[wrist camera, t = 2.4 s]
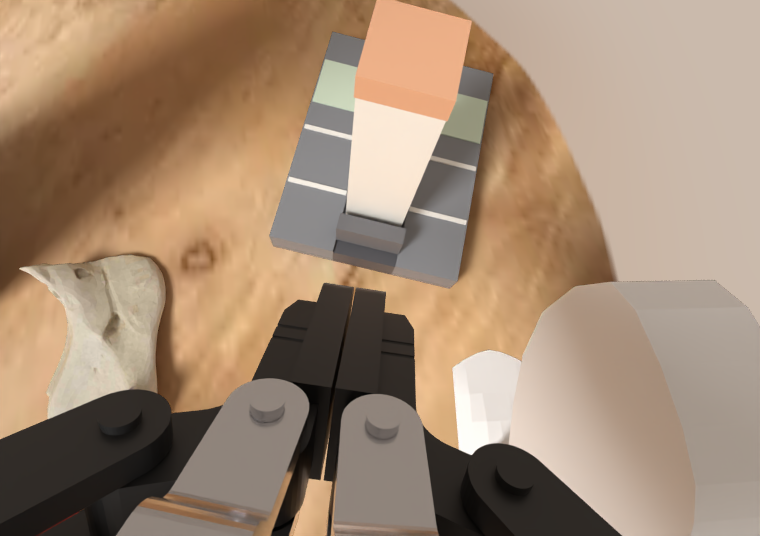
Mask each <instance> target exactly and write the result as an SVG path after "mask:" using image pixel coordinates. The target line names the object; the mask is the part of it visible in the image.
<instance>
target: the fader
mask: <svg viewBox="0 0 760 536" xmlns="http://www.w3.org/2000/svg"><path fill="white" fill-rule="evenodd" d="M471 23H472V21H470V20H466V19H462V18H459V17H455V16H451V15H447V14H444V13H440V12H436V11H432V10H429V9H425V8H421V7H417V6H414V5H410V4H406V3H402V2H399V1H395V0H376V4H375V8H374V11H373V15H372V18H371V22H370V25H369V29H368V32H367V36H366V40H365V43H364V47H363V50H362V54H361V57H360V61H359V65H358V68H357V72H356V75H355V87H354V98H355V107H354V119H353V131H352V143H351V155H350V168H349V180H348V192H347V204H346V214H348V215H352V216H356V217H360V218H364V219H368V220H372V221H376V222H380V223H384V224H389V225H393V226H397V227H401V226H402V224H403V221H404V219H405V217H406V214H407V212H408V210H409V207H410V205H411V202H412V200H413V198H414V195H415V193H416V191H417V188H418V186H419V184H420V181H421V179H422V176H423V174H424V172H425V169H426V167H427V165H428V162H429V160H430V158H431V155H432V153H433V150H434V148H435V146H436V143H437V141H438V139H439V136H440V134H441V131H442V129H443V127H444V124H445V122H446V121H448V119H449V117H450V114H451V112H452V110H453V107H454V105H455V103H456V99H457V94H458V89H459V84H460V79H461V74H462V69H463V64H464V59H465V54H466V49H467V43H468V38H469V33H470V28H471Z"/></svg>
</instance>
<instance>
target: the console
mask: <svg viewBox="0 0 760 536" xmlns="http://www.w3.org/2000/svg"><path fill="white" fill-rule="evenodd" d="M364 43H365V40H363V39H359V38H355V37H351V36H347V35H343V34H340V33H336V32H332V35H331V38H330V41H329V45H328V48H327V51H326V54H325V58H324V61H323V64H322V67H321V71H320V74H319V77H318V80H317V83H316V87H315V90H314V93H313V96H312V100H311V103H310V106H309V109H308V113H307V116H306V119H305V122H304V126H303V129H302V132H301V135H300V138H299V142H298V145H297V148H296V151H295V155H294V158H293V161H292V164H291V168H290V171H289V174H288V177H287V180H286V184H285V187H284V190H283V193H282V197H281V200H280V203H279V206H278V210H277V213H276V216H275V219H274V223H273V226H272V229H271V232H270V235H269V236H270V239H271V242H272V244H273V246H275V247H279V248H283V249H287V250H291V251H295V252H300V253H304V254H308V255H312V256H316V257H320V258H325V259H329V260H333V261H337V262H341V263H345V264H350V265H354V266H358V267H362V268H366V269H370V270H375V271H379V272H383V273H387V274H391V275H395V276H400V277H404V278H408V279H412V280H416V281H420V282H424V283H429V284H433V285H437V286H441V287H445V288H450V287H452V286H453V285H454V284H455V283H456V282H457V281H458V275H459V269H460V264H461V258H462V252H463V246H464V241H465V235H466V229H467V223H468V218H469V212H470V206H471V200H472V195H473V189H474V183H475V177H476V172H477V166H478V160H479V154H480V149H481V143H482V137H483V131H484V126H485V120H486V114H487V108H488V103H489V97H490V91H491V85H492V80H493V74H492V73H489V72H485V71H481V70H477V69H473V68H470V67H466V66H463V69H462V74H461V79H460V84H459V89H458V94H457V99H456V103H455V105H454V107H453V110H452V112H451V114H450V117H449V119H448V121H446V122H445V124H444V127H443V129H442V131H441V134H440V136H439V139H438V141H437V143H436V146H435V148H434V150H433V153H432V155H431V158H430V160H429V162H428V165H427V167H426V169H425V172H424V174H423V176H422V179H421V181H420V184H419V186H418V188H417V191H416V193H415V195H414V198H413V200H412V202H411V205H410V207H409V210H408V212H407V214H406V217H405V219H404V221H403V224H402V226H401V227H397V226H393V225H389V224H384V223H380V222H376V221H372V220H368V219H364V218H360V217H356V216H352V215H348V214H346V204H347V192H348V180H349V168H350V155H351V143H352V131H353V119H354V107H355V98H354V87H355V75H356V72H357V68H358V65H359V61H360V57H361V54H362V50H363V47H364Z"/></svg>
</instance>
